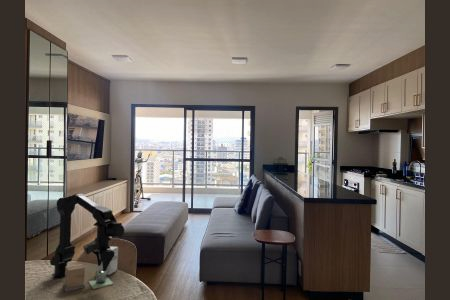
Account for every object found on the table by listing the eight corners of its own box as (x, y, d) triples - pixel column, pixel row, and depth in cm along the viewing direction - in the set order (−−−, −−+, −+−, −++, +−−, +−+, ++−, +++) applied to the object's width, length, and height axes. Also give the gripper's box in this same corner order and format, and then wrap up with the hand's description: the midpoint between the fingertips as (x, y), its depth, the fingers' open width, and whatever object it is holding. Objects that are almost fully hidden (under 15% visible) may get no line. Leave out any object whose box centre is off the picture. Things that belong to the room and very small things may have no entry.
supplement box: (109, 275, 152) (110, 250, 153) (97, 273, 154) (98, 249, 155) (117, 270, 160) (118, 246, 160) (105, 269, 161) (106, 245, 162)
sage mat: (88, 282, 142) (88, 281, 142) (107, 278, 148) (107, 277, 148) (93, 288, 135) (93, 287, 135) (113, 284, 141) (113, 283, 141)
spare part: (94, 281, 142) (95, 271, 142) (104, 279, 145) (105, 269, 145) (97, 284, 138) (97, 273, 139) (107, 282, 141) (107, 272, 141)
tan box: (63, 286, 138) (64, 266, 138) (82, 282, 142) (82, 263, 143) (65, 291, 132) (66, 270, 133) (85, 287, 137) (86, 267, 137)
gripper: (80, 233, 145) (79, 266, 144) (89, 242, 130) (88, 278, 130) (104, 231, 152) (103, 262, 151) (115, 238, 137) (114, 273, 136)
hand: (101, 268), depth 142 cm, fingers open, 9 cm apart
